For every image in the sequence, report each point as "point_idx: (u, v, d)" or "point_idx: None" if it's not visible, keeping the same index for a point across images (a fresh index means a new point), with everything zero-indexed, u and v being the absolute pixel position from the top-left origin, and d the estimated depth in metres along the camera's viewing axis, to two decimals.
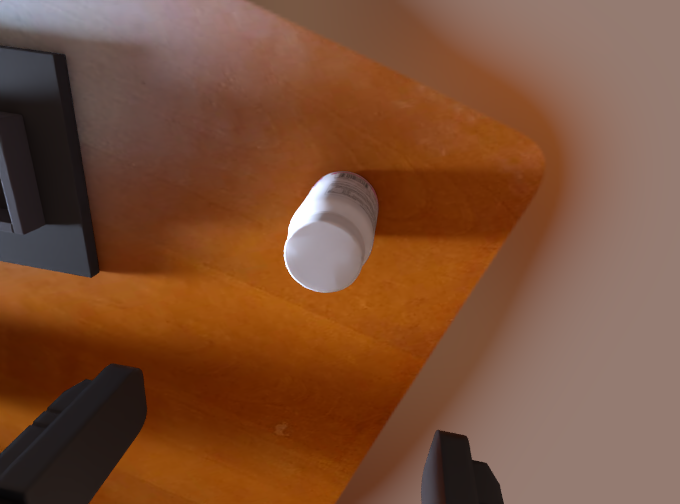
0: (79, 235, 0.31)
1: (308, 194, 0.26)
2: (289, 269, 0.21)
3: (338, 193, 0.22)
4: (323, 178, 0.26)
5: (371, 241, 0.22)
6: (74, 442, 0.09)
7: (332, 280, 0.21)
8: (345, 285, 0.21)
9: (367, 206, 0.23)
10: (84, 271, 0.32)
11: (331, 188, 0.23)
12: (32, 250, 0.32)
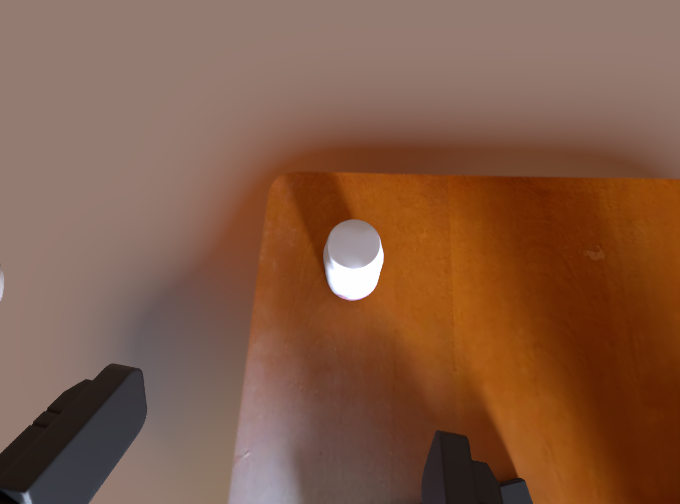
0: None
1: (346, 295, 0.35)
2: (371, 261, 0.29)
3: None
4: (335, 292, 0.36)
5: None
6: (74, 442, 0.09)
7: (366, 232, 0.30)
8: (366, 224, 0.30)
9: None
10: (521, 488, 0.31)
11: (326, 272, 0.33)
12: None
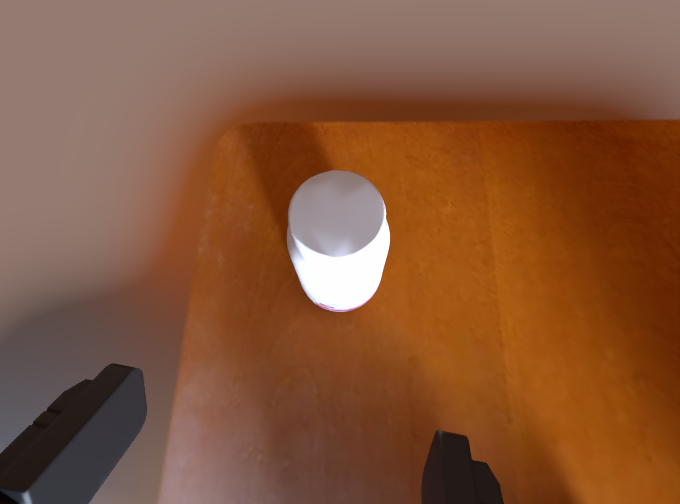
0: None
1: (331, 303, 0.22)
2: (369, 243, 0.16)
3: None
4: (313, 300, 0.23)
5: None
6: (74, 442, 0.09)
7: (359, 192, 0.17)
8: (359, 177, 0.17)
9: None
10: None
11: (295, 268, 0.20)
12: None
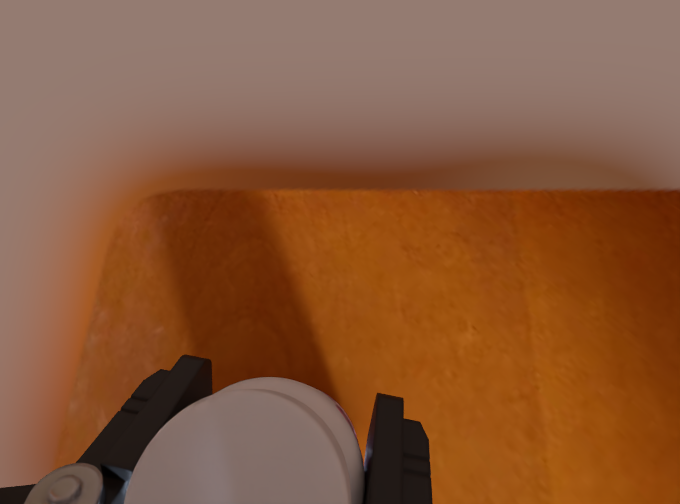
0: None
1: None
2: None
3: None
4: None
5: (228, 387, 0.10)
6: None
7: (290, 453, 0.07)
8: (291, 411, 0.08)
9: None
10: None
11: None
12: None
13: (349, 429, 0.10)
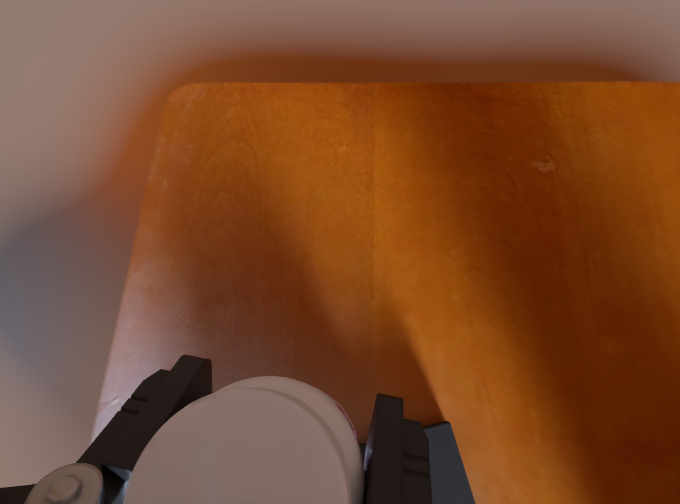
0: None
1: None
2: None
3: None
4: None
5: (228, 386, 0.10)
6: None
7: (289, 452, 0.07)
8: (291, 410, 0.08)
9: None
10: (444, 432, 0.25)
11: None
12: None
13: (349, 428, 0.10)
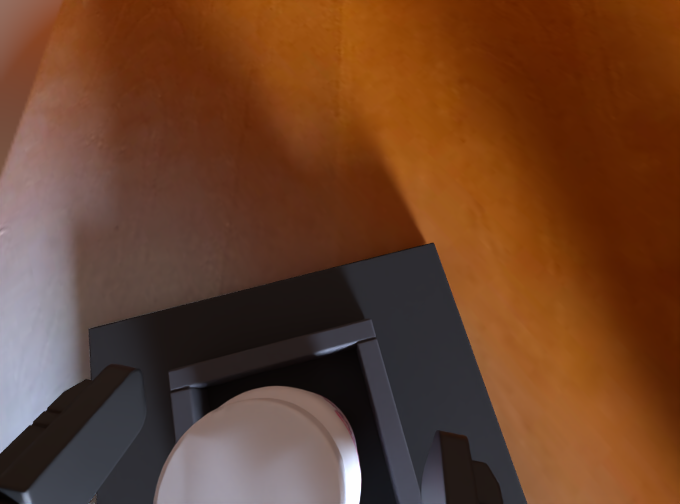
0: (361, 268, 0.19)
1: None
2: None
3: None
4: None
5: (239, 395, 0.11)
6: (74, 442, 0.09)
7: (295, 454, 0.09)
8: (296, 418, 0.09)
9: None
10: (427, 254, 0.19)
11: None
12: (434, 349, 0.17)
13: (347, 433, 0.11)
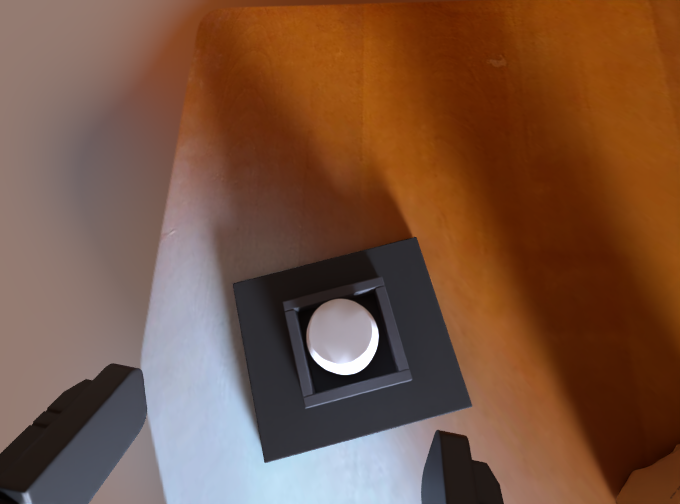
0: (376, 251, 0.35)
1: (337, 373, 0.30)
2: (362, 354, 0.24)
3: None
4: None
5: None
6: (74, 442, 0.09)
7: (356, 316, 0.25)
8: (355, 304, 0.25)
9: None
10: (412, 243, 0.35)
11: None
12: (415, 293, 0.33)
13: (372, 317, 0.27)
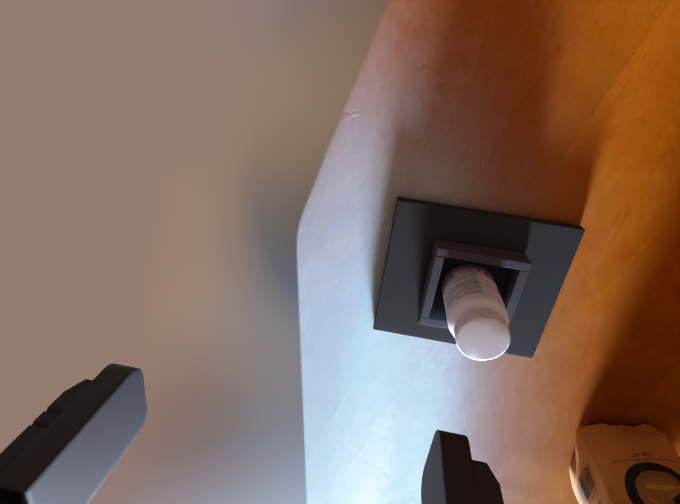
0: (540, 227, 0.35)
1: None
2: (489, 358, 0.31)
3: (447, 309, 0.34)
4: None
5: (481, 298, 0.32)
6: (74, 442, 0.09)
7: (500, 335, 0.30)
8: (505, 328, 0.30)
9: (460, 290, 0.34)
10: (577, 234, 0.35)
11: (445, 309, 0.35)
12: (547, 274, 0.37)
13: (508, 321, 0.32)
